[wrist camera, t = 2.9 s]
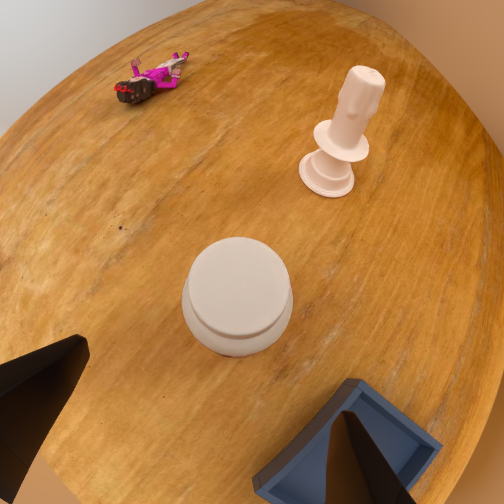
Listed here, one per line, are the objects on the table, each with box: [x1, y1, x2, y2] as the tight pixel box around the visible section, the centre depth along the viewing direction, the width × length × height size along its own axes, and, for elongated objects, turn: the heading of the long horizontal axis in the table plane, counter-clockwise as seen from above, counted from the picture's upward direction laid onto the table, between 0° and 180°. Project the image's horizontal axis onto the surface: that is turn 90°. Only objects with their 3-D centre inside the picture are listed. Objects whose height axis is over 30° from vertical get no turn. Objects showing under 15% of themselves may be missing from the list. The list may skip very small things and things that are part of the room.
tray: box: [252, 378, 443, 504], centre depth 15 cm, size 10×10×3 cm
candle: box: [299, 66, 385, 197], centre depth 20 cm, size 5×5×12 cm
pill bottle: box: [182, 237, 293, 358], centre depth 15 cm, size 5×5×10 cm
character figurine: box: [114, 52, 189, 104], centre depth 27 cm, size 6×5×12 cm
